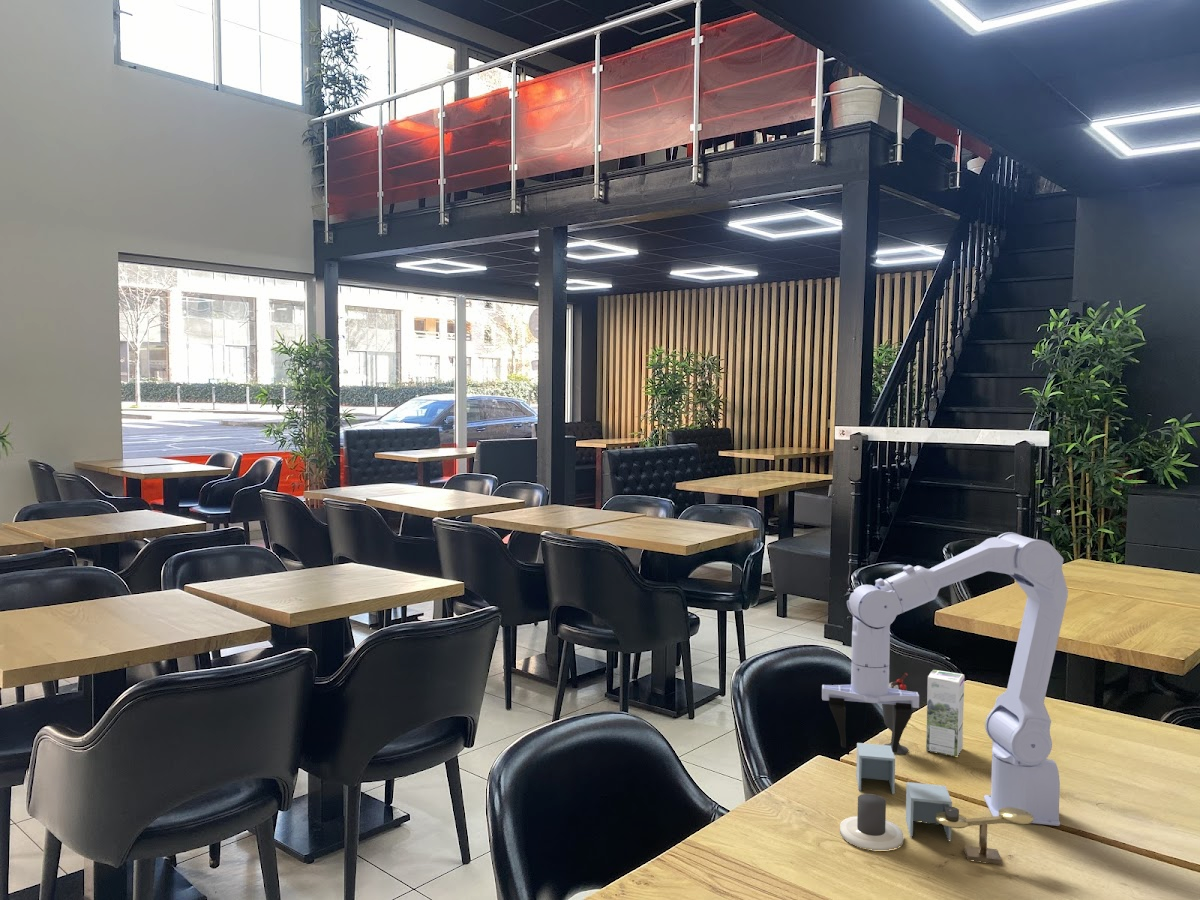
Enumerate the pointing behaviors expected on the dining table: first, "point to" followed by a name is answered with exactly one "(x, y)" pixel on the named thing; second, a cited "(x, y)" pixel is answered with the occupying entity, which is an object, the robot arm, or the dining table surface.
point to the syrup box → (945, 712)
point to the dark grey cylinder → (871, 814)
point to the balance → (983, 829)
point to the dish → (881, 842)
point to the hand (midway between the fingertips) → (868, 747)
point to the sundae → (889, 713)
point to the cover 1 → (875, 763)
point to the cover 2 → (926, 804)
